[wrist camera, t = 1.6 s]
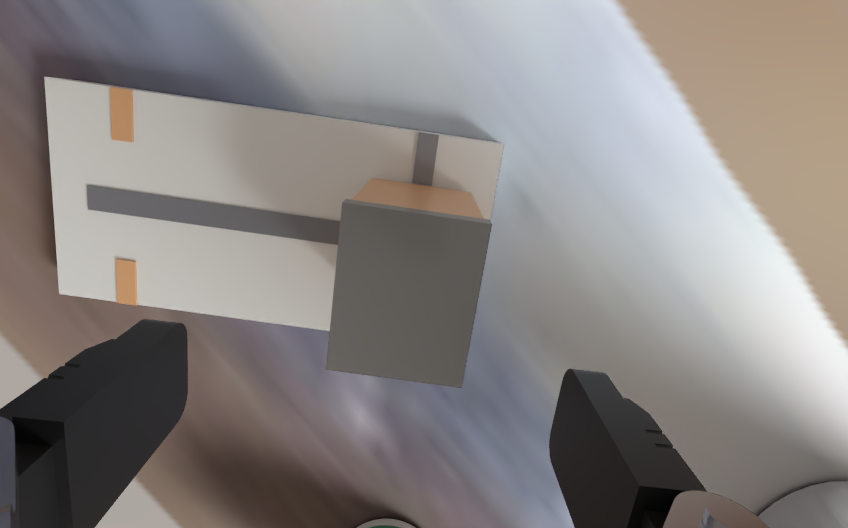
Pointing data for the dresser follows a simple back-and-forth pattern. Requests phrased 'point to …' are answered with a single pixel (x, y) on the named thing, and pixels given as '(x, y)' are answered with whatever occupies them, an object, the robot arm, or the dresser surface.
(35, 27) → the dresser surface
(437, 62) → the dresser surface
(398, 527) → the supplement bottle
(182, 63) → the dresser surface
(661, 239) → the dresser surface
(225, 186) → the fader plate
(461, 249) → the fader knob
